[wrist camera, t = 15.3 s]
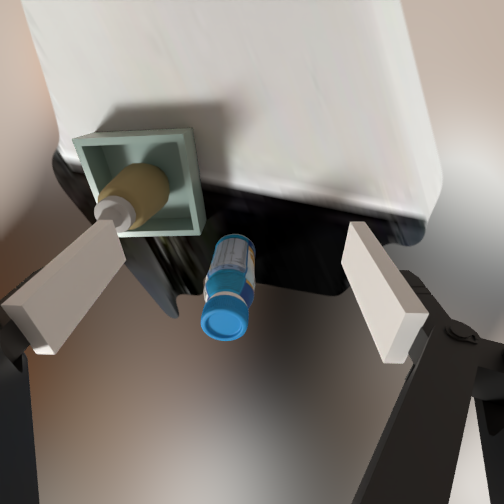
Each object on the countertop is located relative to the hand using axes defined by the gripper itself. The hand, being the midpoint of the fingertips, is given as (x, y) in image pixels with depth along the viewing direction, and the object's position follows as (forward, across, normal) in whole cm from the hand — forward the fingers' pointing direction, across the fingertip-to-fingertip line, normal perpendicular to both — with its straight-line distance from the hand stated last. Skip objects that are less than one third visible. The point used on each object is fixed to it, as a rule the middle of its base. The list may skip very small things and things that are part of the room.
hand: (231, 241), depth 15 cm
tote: (+32, -17, -7) cm, 37 cm away
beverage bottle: (+32, -3, -22) cm, 39 cm away
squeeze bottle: (+31, -17, -7) cm, 36 cm away
